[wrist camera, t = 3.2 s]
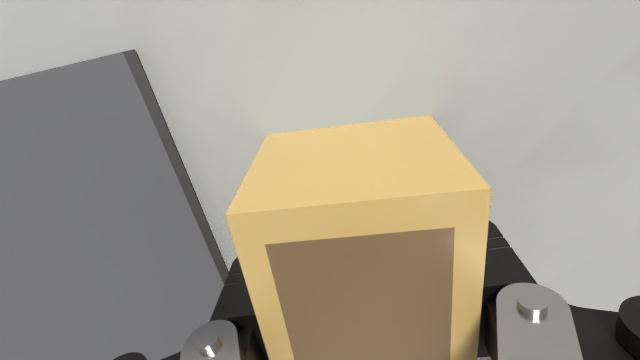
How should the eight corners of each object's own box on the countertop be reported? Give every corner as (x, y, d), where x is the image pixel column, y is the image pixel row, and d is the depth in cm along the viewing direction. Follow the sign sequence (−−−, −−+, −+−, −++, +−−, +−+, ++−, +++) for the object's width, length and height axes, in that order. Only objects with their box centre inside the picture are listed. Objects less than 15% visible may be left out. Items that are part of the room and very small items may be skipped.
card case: (429, 115, 10) (491, 188, 6) (430, 305, 13) (470, 434, 9) (267, 134, 11) (224, 214, 7) (306, 314, 14) (293, 440, 10)
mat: (134, 49, 10) (122, 51, 9) (293, 428, 17) (292, 442, 17) (-348, 164, 12) (-380, 171, 11) (-18, 453, 20) (-28, 465, 19)
